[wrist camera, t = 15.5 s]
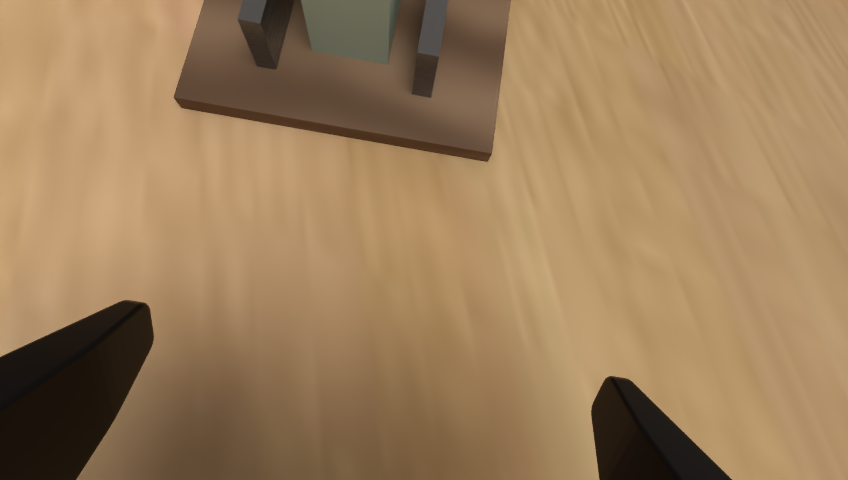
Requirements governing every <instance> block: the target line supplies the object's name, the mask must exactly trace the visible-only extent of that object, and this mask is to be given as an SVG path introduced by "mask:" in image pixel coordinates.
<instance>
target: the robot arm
mask: <svg viewBox="0 0 848 480" xmlns="http://www.w3.org/2000/svg"><path fill="white" fill-rule="evenodd" d="M153 340H154V333H153V326H152V320H151V313H150V308H149V306H148V305H147V304H146V303H143V302H137V301H130V300H124V301H121V302H118V303H116V304H114V305H112V306H110V307H107V308H105V309H103V310H101V311H99V312H97V313H94V314H92V315H90V316H88V317H86V318H84V319H81V320H79V321H77V322H75V323H73V324H71V325H68V326H66V327H64V328H62V329H60V330H58V331H55V332H53V333H51V334H49V335H47V336H45V337H42V338H40V339H38V340H36V341H34V342H32V343H29V344H27V345H25V346H23V347H21V348H19V349H16V350H14V351H12V352H10V353H8V354H6V355H3V356H1V357H0V480H76V479H77V477H78V476H79V474H80V473H81V471H82V470H83V468H84V466H85V465H86V463H87V462H88V460H89V459H90V457H91V456H92V454H93V453H94V451H95V449H96V448H97V446H98V445H99V443H100V442H101V440H102V439H103V437H104V436H105V434H106V432H107V431H108V429H109V428H110V426H111V424H112V423H113V421H114V420H115V418H116V416H117V414H118V412H119V410H120V409H121V407H122V405H123V403H124V401H125V399H126V397H127V395H128V393H129V391H130V389H131V387H132V385H133V383H134V381H135V379H136V377H137V375H138V373H139V371H140V369H141V367H142V365H143V363H144V361H145V359H146V357H147V355H148V353H149V351H150V349H151V347H152V344H153ZM591 415H592V424H593V432H594V440H595V448H596V456H597V464H598V472H599V479H600V480H732V479H731V478H730V477H729V476H728V475H727V474H726V473H725V472H724V471H723V470H722V469H721V468H720V467H719V466H718V465H716V464H715V463H714V462H713V461H712V460H711V459H710V458H709V457H708V456H707V455H706V454H705V453H704V452H703V451H702V450H701V449H700V448H699V447H698V446H697V445H696V444H695V443H694V442H693V441H692V440H691V439H690V438H689V437H688V436H687V435H686V434H685V433H684V432H683V431H682V430H681V429H680V428H679V427H678V426H677V425H676V424H675V423H674V422H673V421H672V420H671V419H670V418H669V417H668V416H666V415H665V414H664V413H663V412H662V411H661V410H660V409H659V408H658V407H657V406H656V405H655V404H654V403H653V402H652V401H651V400H650V399H649V398H648V397H647V396H646V395H645V394H644V393H643V392H642V391H641V390H640V389H639V388H638V387H637V386H636V385H635V384H634V383H633V382H632V381H630V380H629V379H626V378H621V377H614V376H609V377H607V378H606V379H605V380H604V382H603V384H602V386H601V388H600V390H599V392H598V394H597V396H596V398H595V400H594V402H593V405H592V410H591Z"/></svg>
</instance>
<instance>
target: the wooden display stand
mask: <svg viewBox="0 0 848 480" xmlns="http://www.w3.org/2000/svg"><path fill="white" fill-rule="evenodd" d="M510 1H511V0H401V2H400V7H399V12H398V17H397V22H396V27H395V32H394V37H393V43H392V48H391V53H390V58H389V63H388V65H386V64H381V63H375V62H370V61H365V60H359V59H354V58H349V57H343V56H338V55H333V54H327V53H322V52H316V51H312V49H311V44H310V40H309V35H308V30H307V26H306V21H305V17H304V12H303V7H302V3H301V0H204V3H203V6H202V9H201V12H200V15H199V19H198V22H197V25H196V28H195V31H194V34H193V38H192V41H191V44H190V47H189V50H188V53H187V57H186V60H185V63H184V66H183V69H182V72H181V76H180V79H179V82H178V85H177V88H176V91H175V95H174V98H175V100H176V101H177V102H178V104H179V105H180V106H181V107H182V108H187V109H192V110H198V111H204V112H209V113H215V114H221V115H227V116H232V117H238V118H244V119H249V120H255V121H261V122H266V123H272V124H278V125H283V126H289V127H295V128H300V129H306V130H312V131H317V132H323V133H329V134H334V135H340V136H346V137H351V138H357V139H363V140H369V141H374V142H380V143H386V144H391V145H397V146H403V147H408V148H414V149H420V150H425V151H431V152H437V153H442V154H448V155H454V156H459V157H465V158H471V159H476V160H482V161H488V160H489V158H490V156H491V154H492V148H493V140H494V132H495V124H496V116H497V107H498V99H499V91H500V83H501V75H502V67H503V58H504V50H505V42H506V34H507V26H508V17H509V9H510Z"/></svg>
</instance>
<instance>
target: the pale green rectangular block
mask: <svg viewBox="0 0 848 480" xmlns="http://www.w3.org/2000/svg"><path fill="white" fill-rule="evenodd" d="M400 2H401V0H301V3H302V7H303V12H304V17H305V21H306V26H307V30H308V35H309V40H310V44H311V49H312V51H316V52H322V53H327V54H333V55H338V56H343V57H349V58H354V59H359V60H365V61H370V62H375V63H381V64H386V65H388V63H389V58H390V53H391V48H392V43H393V37H394V32H395V27H396V22H397V17H398V12H399V7H400Z"/></svg>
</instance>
